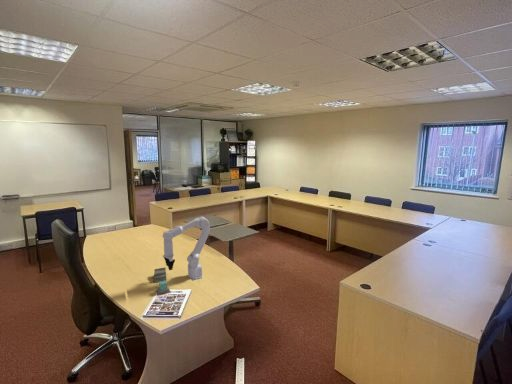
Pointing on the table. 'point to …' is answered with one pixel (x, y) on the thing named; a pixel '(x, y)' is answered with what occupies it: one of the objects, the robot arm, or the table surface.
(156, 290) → the tower base
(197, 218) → the robot arm
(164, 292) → the tower mid
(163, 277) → the stone block
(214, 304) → the table surface
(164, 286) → the teal block
